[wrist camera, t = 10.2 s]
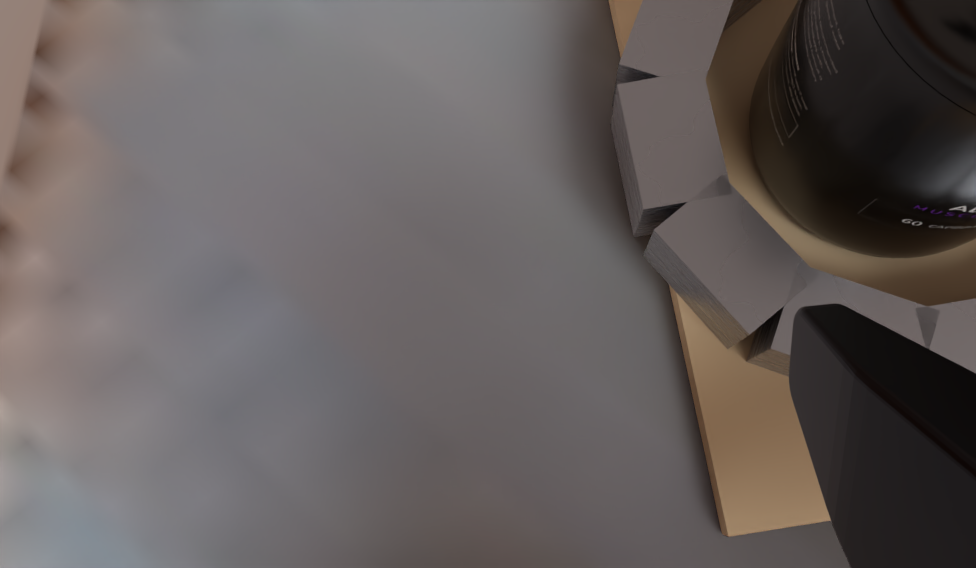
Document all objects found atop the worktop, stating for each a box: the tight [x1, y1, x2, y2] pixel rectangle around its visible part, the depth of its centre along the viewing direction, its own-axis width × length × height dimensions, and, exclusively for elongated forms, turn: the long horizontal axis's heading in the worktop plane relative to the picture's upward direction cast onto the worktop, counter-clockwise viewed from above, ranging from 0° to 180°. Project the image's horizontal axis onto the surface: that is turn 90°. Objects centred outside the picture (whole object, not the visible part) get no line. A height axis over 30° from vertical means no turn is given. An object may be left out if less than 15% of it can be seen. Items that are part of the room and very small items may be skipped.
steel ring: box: [611, 0, 976, 377], centre depth 20 cm, size 14×14×2 cm
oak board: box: [608, 0, 976, 537], centre depth 22 cm, size 18×14×1 cm
